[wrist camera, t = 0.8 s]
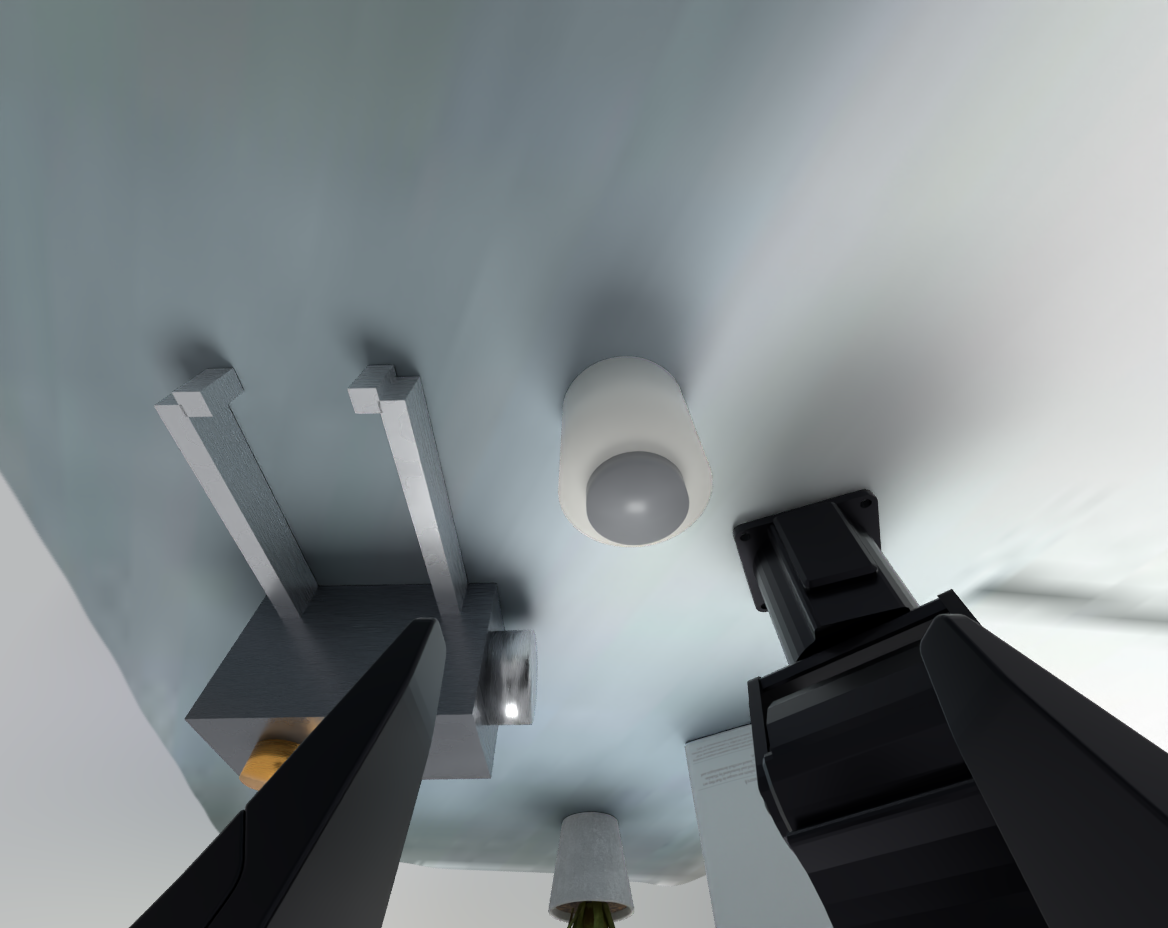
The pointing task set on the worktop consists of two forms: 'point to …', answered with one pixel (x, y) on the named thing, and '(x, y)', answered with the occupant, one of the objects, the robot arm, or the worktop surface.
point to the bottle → (630, 455)
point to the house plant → (590, 873)
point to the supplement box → (745, 841)
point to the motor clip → (345, 598)
